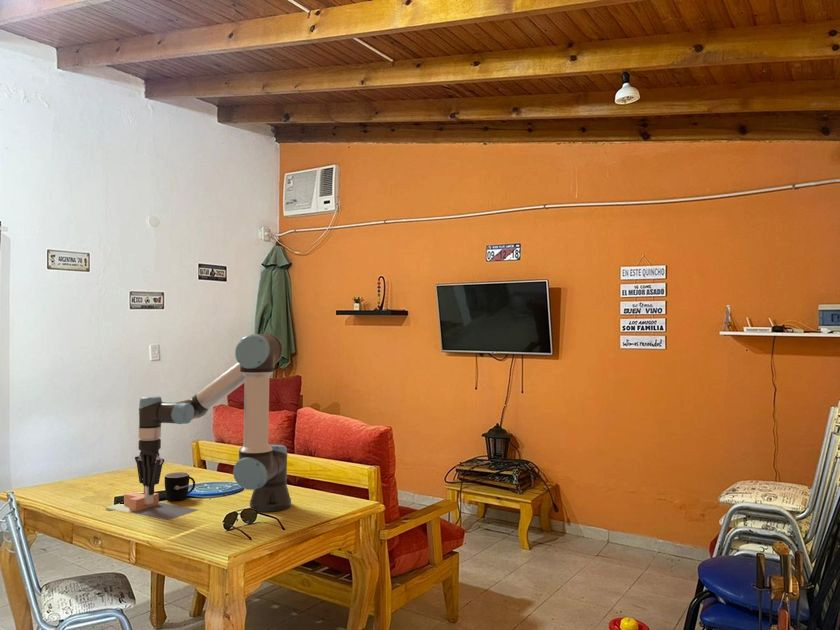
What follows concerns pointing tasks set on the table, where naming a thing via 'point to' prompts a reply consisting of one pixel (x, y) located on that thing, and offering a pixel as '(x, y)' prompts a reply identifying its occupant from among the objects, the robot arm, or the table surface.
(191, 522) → the table surface
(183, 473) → the mug
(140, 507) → the t block
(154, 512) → the mat
